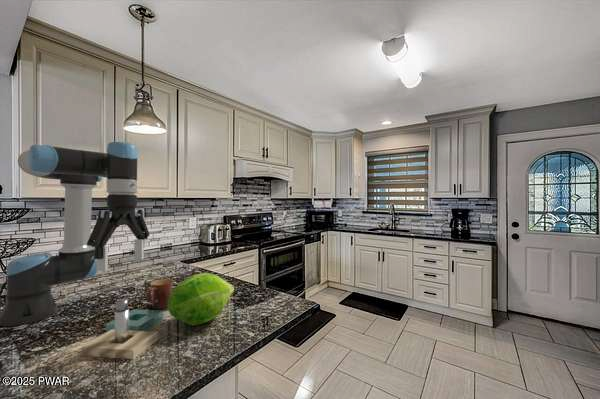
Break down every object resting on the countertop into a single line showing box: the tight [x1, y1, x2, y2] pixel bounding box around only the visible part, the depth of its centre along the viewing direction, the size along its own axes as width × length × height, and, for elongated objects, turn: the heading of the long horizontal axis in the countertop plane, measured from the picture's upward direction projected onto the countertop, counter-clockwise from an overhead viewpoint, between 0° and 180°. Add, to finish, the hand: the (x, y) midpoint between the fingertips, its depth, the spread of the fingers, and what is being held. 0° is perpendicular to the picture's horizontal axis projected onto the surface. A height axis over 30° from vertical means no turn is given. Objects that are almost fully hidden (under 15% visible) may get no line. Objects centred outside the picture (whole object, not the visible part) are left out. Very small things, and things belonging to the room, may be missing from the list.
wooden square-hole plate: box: [81, 329, 159, 360], centre depth 76 cm, size 16×10×2 cm, turn 83°
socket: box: [105, 308, 164, 333], centre depth 90 cm, size 12×12×3 cm
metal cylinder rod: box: [114, 298, 130, 344], centre depth 76 cm, size 4×4×14 cm
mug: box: [146, 278, 175, 310], centre depth 105 cm, size 12×9×10 cm
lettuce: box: [167, 272, 235, 326], centre depth 93 cm, size 19×25×17 cm
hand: (122, 264), depth 77 cm, fingers open, 13 cm apart
